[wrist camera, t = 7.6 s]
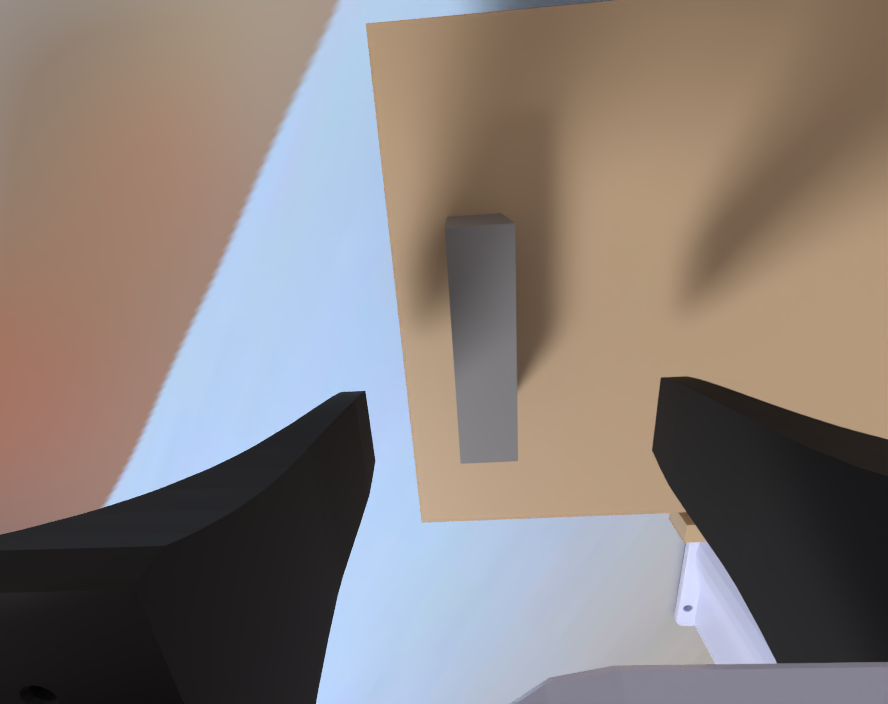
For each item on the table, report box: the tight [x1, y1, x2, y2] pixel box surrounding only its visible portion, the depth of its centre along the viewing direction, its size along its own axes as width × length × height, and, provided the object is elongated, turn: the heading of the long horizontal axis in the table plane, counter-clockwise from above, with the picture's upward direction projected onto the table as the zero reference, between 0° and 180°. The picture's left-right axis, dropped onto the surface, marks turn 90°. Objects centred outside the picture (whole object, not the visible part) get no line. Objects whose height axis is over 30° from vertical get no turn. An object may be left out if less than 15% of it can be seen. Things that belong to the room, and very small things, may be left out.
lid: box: [366, 0, 888, 522], centre depth 12 cm, size 15×16×4 cm
